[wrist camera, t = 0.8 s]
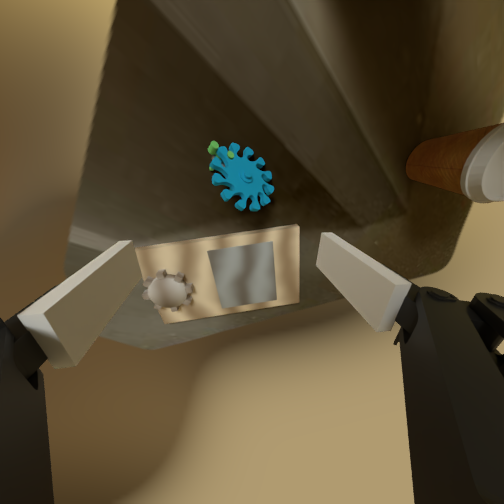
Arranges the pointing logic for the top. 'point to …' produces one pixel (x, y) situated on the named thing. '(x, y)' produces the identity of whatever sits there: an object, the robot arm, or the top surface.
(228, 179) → the gear
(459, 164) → the disposable coffee cup
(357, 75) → the top surface
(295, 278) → the carrier board
